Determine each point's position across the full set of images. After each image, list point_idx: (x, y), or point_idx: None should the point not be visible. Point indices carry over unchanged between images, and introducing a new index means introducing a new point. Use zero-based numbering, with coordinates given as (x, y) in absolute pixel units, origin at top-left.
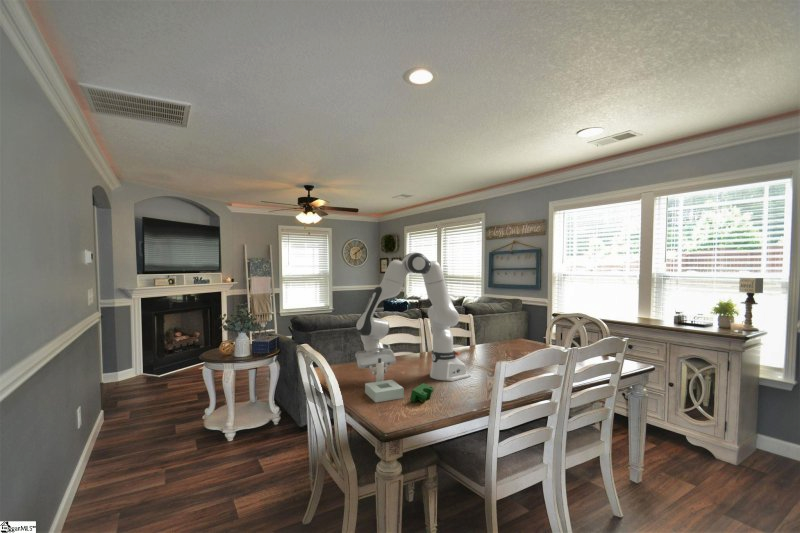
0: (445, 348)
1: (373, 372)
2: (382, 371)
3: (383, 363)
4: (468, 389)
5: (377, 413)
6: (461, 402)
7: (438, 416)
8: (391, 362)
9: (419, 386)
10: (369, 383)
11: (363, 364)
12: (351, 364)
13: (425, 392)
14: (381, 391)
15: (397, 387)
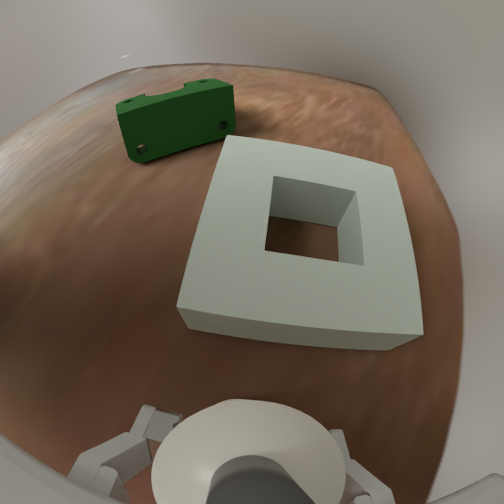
0: None
1: (343, 436)
2: (228, 400)
3: (188, 418)
4: (11, 151)
5: (382, 140)
6: (113, 94)
7: (233, 71)
8: (8, 441)
9: (171, 96)
10: (397, 317)
11: (484, 485)
12: None
13: (187, 83)
14: (362, 160)
15: (252, 154)
